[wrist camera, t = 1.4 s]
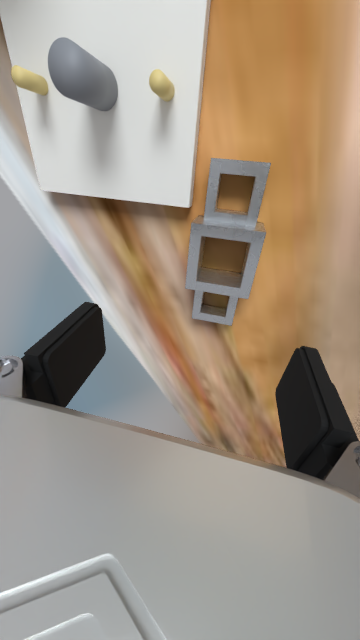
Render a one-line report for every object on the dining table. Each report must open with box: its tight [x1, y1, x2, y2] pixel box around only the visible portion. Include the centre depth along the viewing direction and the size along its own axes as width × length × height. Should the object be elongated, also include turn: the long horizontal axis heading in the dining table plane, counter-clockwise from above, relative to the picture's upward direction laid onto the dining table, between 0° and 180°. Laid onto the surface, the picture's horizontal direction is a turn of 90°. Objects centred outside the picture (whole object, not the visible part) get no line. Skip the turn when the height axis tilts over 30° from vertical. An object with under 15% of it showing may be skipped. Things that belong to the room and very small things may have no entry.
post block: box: [0, 0, 211, 208], centre depth 18 cm, size 16×16×6 cm
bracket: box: [185, 158, 271, 326], centre depth 23 cm, size 16×6×4 cm, turn 175°
